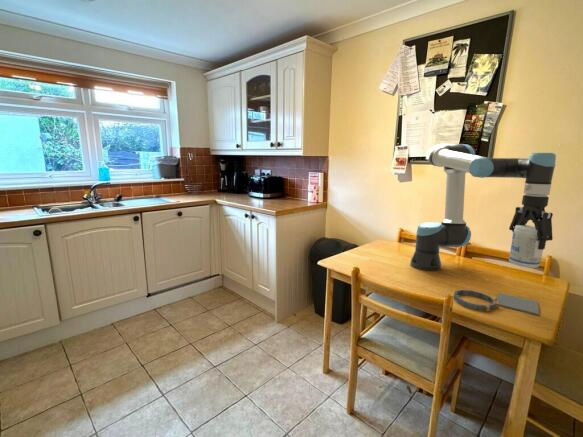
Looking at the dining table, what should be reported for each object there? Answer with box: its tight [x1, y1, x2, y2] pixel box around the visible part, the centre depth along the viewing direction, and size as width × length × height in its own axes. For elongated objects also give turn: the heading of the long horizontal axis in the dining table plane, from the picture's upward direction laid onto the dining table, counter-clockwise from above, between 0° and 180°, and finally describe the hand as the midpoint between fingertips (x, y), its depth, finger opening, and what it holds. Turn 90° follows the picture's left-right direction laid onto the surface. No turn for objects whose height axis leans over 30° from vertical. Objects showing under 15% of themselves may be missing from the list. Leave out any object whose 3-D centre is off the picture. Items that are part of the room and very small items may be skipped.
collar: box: [453, 289, 499, 313], centre depth 119 cm, size 15×14×2 cm
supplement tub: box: [508, 224, 543, 269], centre depth 114 cm, size 10×10×15 cm
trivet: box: [496, 292, 540, 317], centre depth 118 cm, size 13×13×1 cm
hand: (525, 252), depth 114 cm, fingers closed on supplement tub, 10 cm apart
